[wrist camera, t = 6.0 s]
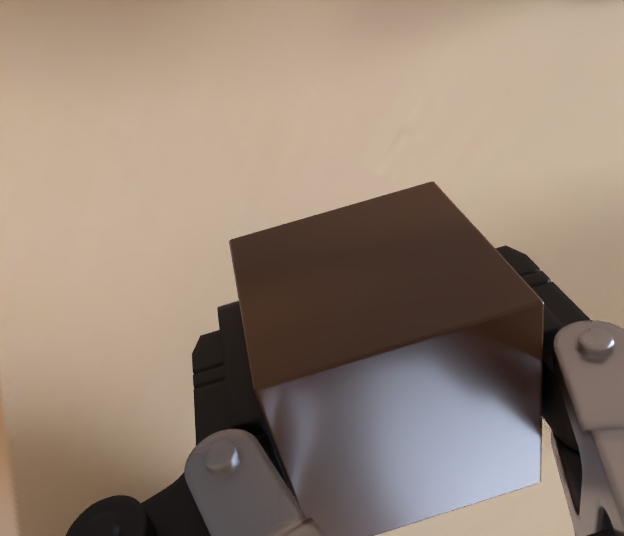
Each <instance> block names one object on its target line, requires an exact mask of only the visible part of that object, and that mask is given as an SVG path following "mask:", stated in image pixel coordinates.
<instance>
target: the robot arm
mask: <svg viewBox="0 0 624 536" xmlns="http://www.w3.org/2000/svg"><path fill="white" fill-rule="evenodd" d="M496 250H497V251H498V252H499V253H500V254H501V256H502V257H503V258H504V259H505V260H506V261H507V262H508V263H509V264H510V265H511V266H512V268H513V269H514V270H515V271H516V272H517V273H518V274H519V275H520V276H521V277H522V279H523V280H524V281H525V282H526V283H527V284H528V285H529V286H530V287H531V288H532V289H533V291H534V292H535V293H536V294H537V295H538V296H539V297H540V298H541V299H542V300H543V302H544V320H543V381H542V419H545V421H546V422H547V423H548V425H549V426H550V428H551V445H552V449H553V452H554V456H555V460H556V463H557V467H558V471H559V475H560V478H561V482H562V486H563V489H564V493H565V497H566V500H567V504H568V508H569V511H570V515H571V519H572V523H573V527H574V532H575V536H624V329H622V328H620V327H618V326H616V325H613V324H610V323H607V322H602V321H593V320H590V319H589V318H588V317H587V316H586V315H585V314H584V313H583V312H582V311H581V310H580V309H579V308H578V307H577V306H576V305H575V304H574V303H573V302H572V301H571V300H570V299H569V298H568V297H567V296H566V295H565V294H564V293H563V292H562V291H561V290H560V288H559V287H558V286H557V285H556V284H555V283H554V282H551V281H550V278H549V277H548V276H547V275H546V274H545V273H544V272H543V271H540V269H539V267H538V266H537V265H536V264H535V263H534V262H533V261H532V260H531V259H530V258H529V257H528V256H527V255H526V254H523V253H521V252H519V251H517V250H515V249H512V248H510V247H508V246H503V247H499V248H496ZM218 319H219V327H220V330H218V331H215V332H211V333H208V334H205V335H201V336H200V338H199V340H198V342H197V344H196V347H195V349H194V351H193V353H192V363H193V373H194V375H193V385H194V406H195V427H196V447H195V448H194V449H193V450H192V452H191V453H190V455H189V457H188V459H187V461H186V465H185V471H184V473H183V474H182V475H181V476H180V477H179V478H178V479H177V480H176V481H175V482H174V483H173V484H171V485H170V486H168V487H167V488H166V489H164V490H162V491H161V492H159V493H157V494H156V495H154V496H153V497H151V498H149V499H148V500H146V501H145V502H143V503H141V504H140V502H138V501H137V500H136V499H134V498H132V497H129V496H121V495H118V496H112V497H108V498H105V499H103V500H100V501H98V502H97V503H95V504H93V505H91V506H90V507H89V508H87V509H86V510H85V511H84V512H83V513H82V514H81V515H79V517H78V518H77V519H76V520H75V521H74V522H73V524H72V525H71V527H70V528H69V530H68V532H67V534H66V536H325V534H324V533H323V531H322V530H321V528H320V527H319V525H318V524H317V523H316V522H315V520H314V519H313V518H308V517H307V516H306V514H305V513H304V512H303V510H302V508H301V507H300V505H299V504H298V502H297V501H296V499H295V498H294V494H293V492H292V489H291V487H290V484H289V481H288V479H287V476H286V473H285V471H284V468H283V465H282V463H281V460H280V458H279V455H278V452H277V450H276V447H275V444H274V442H273V439H272V437H271V434H270V431H269V429H268V426H267V423H266V421H265V418H264V415H263V413H262V410H261V408H260V405H259V402H258V400H257V397H256V394H255V392H254V388H253V382H252V376H251V370H250V364H249V358H248V352H247V346H246V340H245V334H244V328H243V322H242V316H241V310H240V304H239V301H237V302H233V303H230V304H226V305H223V306H220V307H218Z"/></svg>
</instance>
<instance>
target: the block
mask: <svg viewBox="0 0 624 536" xmlns="http://www.w3.org/2000/svg"><path fill="white" fill-rule="evenodd" d="M229 244H230V250H231V256H232V262H233V268H234V274H235V280H236V286H237V292H238V298H239V304H240V310H241V316H242V322H243V328H244V334H245V340H246V346H247V352H248V358H249V364H250V370H251V376H252V382H253V388H254V392H255V394H256V397H257V400H258V402H259V405H260V408H261V410H262V413H263V415H264V418H265V421H266V423H267V426H268V429H269V431H270V434H271V437H272V439H273V442H274V444H275V447H276V450H277V452H278V455H279V458H280V460H281V463H282V465H283V468H284V471H285V473H286V476H287V479H288V481H289V484H290V487H291V489H292V492H293V494H294V497H295V499H296V501H297V502H298V504H299V505H300V507H301V508H302V510H303V512H304V513H305V514H306V516H307V517H308V518H313V519H314V520H315V522H316V523H317V524H318V525H319V527H320V528H321V530H322V531H323V533H324V534H325V536H375V535H378V534H381V533H384V532H387V531H390V530H393V529H396V528H400V527H403V526H406V525H409V524H412V523H415V522H418V521H422V520H425V519H428V518H431V517H434V516H437V515H440V514H443V513H447V512H450V511H453V510H456V509H459V508H462V507H465V506H469V505H472V504H475V503H478V502H481V501H484V500H487V499H490V498H494V497H497V496H500V495H503V494H506V493H509V492H512V491H516V490H519V489H522V488H525V487H528V486H531V485H534V484H537V483H540V482H541V443H542V381H543V320H544V302H543V300H542V299H541V298H540V297H539V296H538V295H537V294H536V293H535V292H534V291H533V289H532V288H531V287H530V286H529V285H528V284H527V283H526V282H525V281H524V280H523V279H522V277H521V276H520V275H519V274H518V273H517V272H516V271H515V270H514V269H513V268H512V266H511V265H510V264H509V263H508V262H507V261H506V260H505V259H504V258H503V257H502V256H501V254H500V253H499V252H498V251H497V250H496V249H495V248H494V247H493V246H492V245H491V244H490V242H489V241H488V240H487V239H486V238H485V237H484V236H483V235H482V234H481V233H480V232H479V230H478V229H477V228H476V227H475V226H474V225H473V224H472V223H471V222H470V221H469V220H468V218H467V217H466V216H465V215H464V214H463V213H462V212H461V211H460V210H459V209H458V208H457V206H456V205H455V204H454V203H453V202H452V201H451V200H450V199H449V198H448V197H447V196H446V194H445V193H444V192H443V191H442V190H441V189H440V188H439V187H438V186H437V185H436V184H435V182H429V183H425V184H422V185H418V186H415V187H411V188H408V189H404V190H401V191H397V192H394V193H390V194H387V195H383V196H380V197H377V198H373V199H370V200H366V201H363V202H359V203H356V204H352V205H349V206H345V207H342V208H338V209H335V210H332V211H328V212H325V213H321V214H318V215H314V216H311V217H307V218H304V219H300V220H297V221H293V222H290V223H287V224H283V225H280V226H276V227H273V228H269V229H266V230H262V231H259V232H255V233H252V234H248V235H245V236H242V237H238V238H235V239H231V240H230V241H229Z"/></svg>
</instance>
